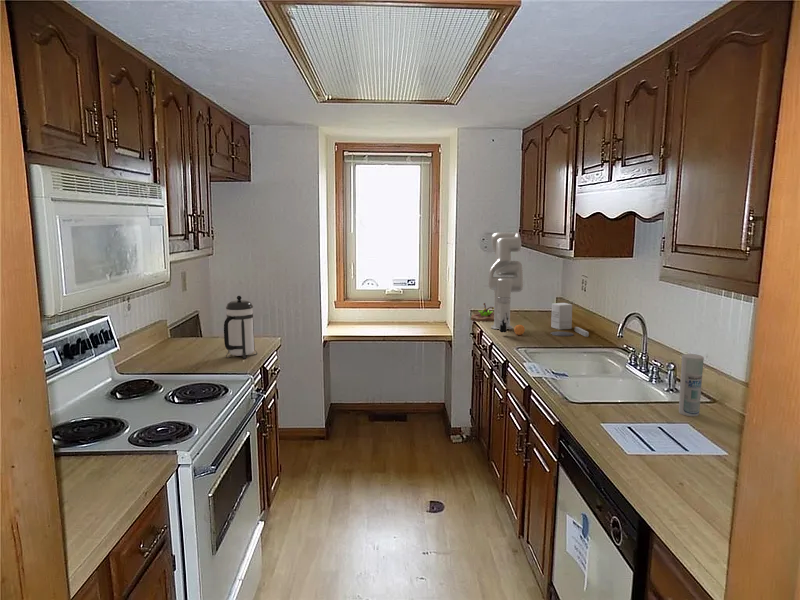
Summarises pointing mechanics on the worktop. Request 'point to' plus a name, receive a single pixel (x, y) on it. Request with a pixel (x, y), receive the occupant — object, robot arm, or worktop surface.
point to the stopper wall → (581, 331)
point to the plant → (483, 315)
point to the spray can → (690, 384)
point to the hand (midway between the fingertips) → (503, 331)
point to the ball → (519, 329)
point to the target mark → (562, 333)
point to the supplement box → (561, 316)
